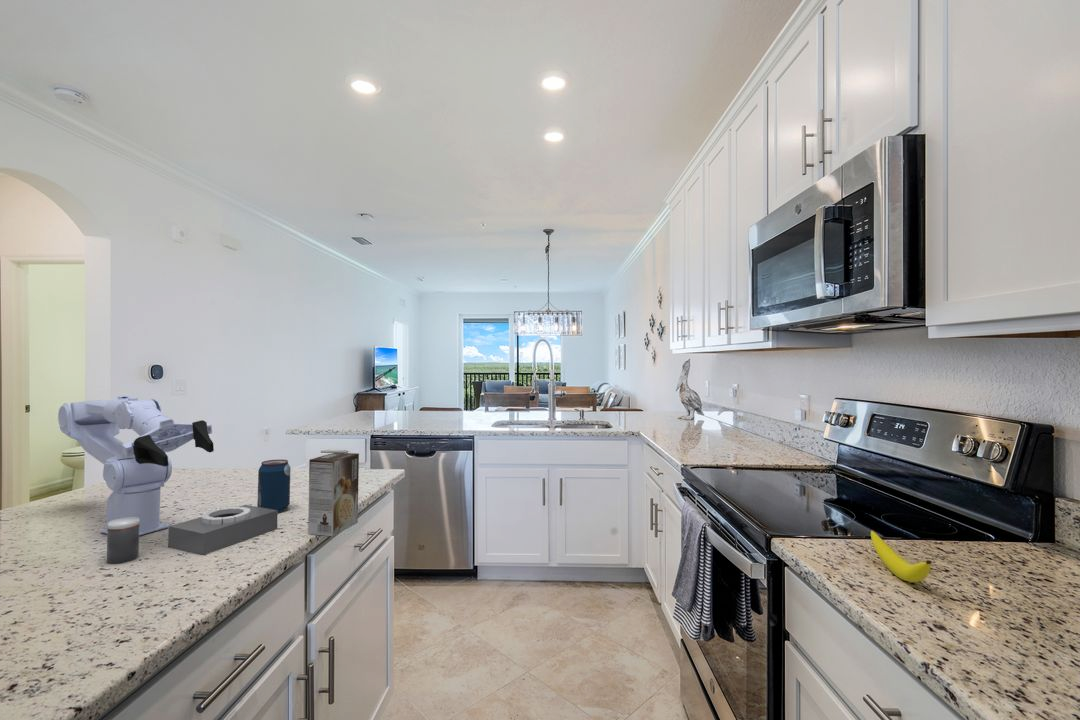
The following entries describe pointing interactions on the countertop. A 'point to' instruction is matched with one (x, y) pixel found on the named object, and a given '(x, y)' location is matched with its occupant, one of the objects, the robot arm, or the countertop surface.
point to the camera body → (221, 528)
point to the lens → (123, 540)
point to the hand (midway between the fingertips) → (189, 454)
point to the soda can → (274, 485)
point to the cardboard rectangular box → (333, 493)
